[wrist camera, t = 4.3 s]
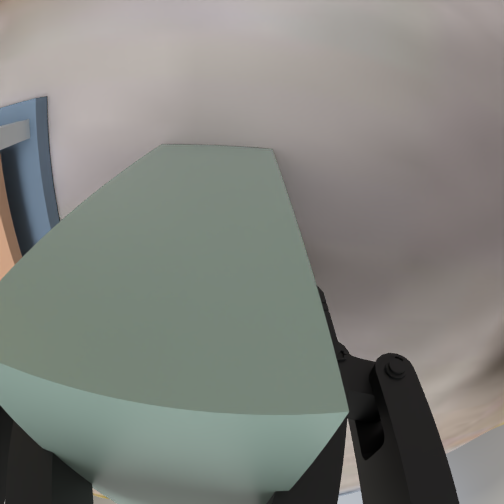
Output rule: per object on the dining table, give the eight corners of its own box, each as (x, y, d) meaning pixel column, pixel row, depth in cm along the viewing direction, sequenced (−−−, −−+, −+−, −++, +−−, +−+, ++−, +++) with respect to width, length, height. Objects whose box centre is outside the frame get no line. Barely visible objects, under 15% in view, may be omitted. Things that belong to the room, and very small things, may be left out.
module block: (272, 148, 13) (348, 410, 2) (255, 307, 17) (259, 522, 7) (161, 144, 13) (-48, 339, 2) (170, 300, 17) (118, 504, 7)
